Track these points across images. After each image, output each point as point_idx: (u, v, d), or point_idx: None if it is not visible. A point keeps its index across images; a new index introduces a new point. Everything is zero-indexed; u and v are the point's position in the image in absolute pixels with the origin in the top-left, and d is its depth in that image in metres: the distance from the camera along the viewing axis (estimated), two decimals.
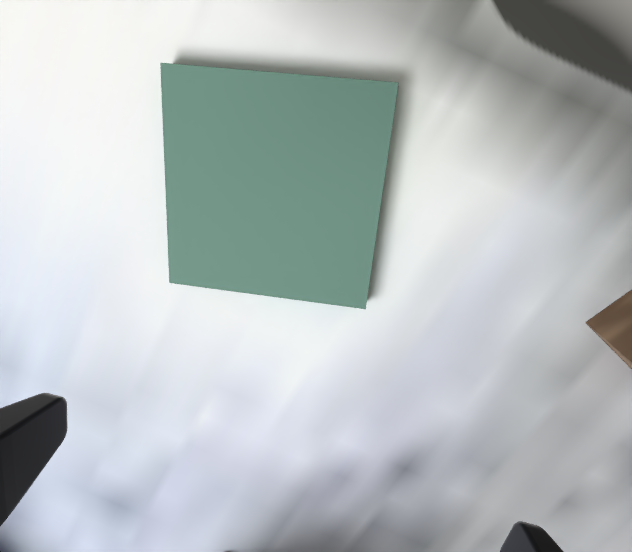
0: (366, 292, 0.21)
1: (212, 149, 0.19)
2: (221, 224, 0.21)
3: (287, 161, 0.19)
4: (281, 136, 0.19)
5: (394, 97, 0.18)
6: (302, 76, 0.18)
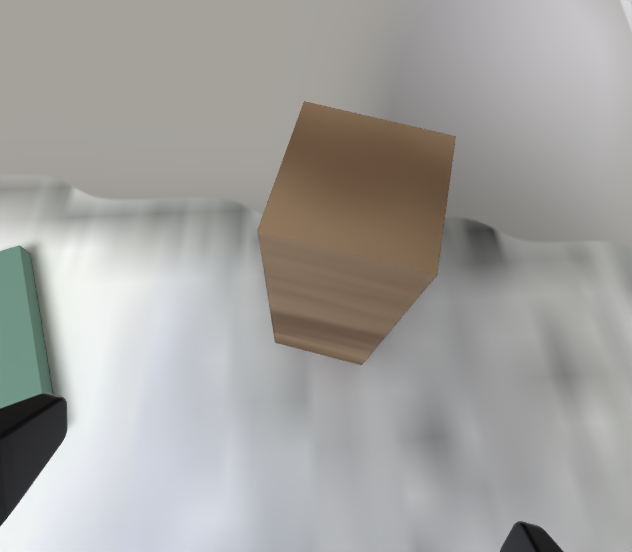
0: None
1: None
2: None
3: None
4: None
5: (18, 254, 0.22)
6: None
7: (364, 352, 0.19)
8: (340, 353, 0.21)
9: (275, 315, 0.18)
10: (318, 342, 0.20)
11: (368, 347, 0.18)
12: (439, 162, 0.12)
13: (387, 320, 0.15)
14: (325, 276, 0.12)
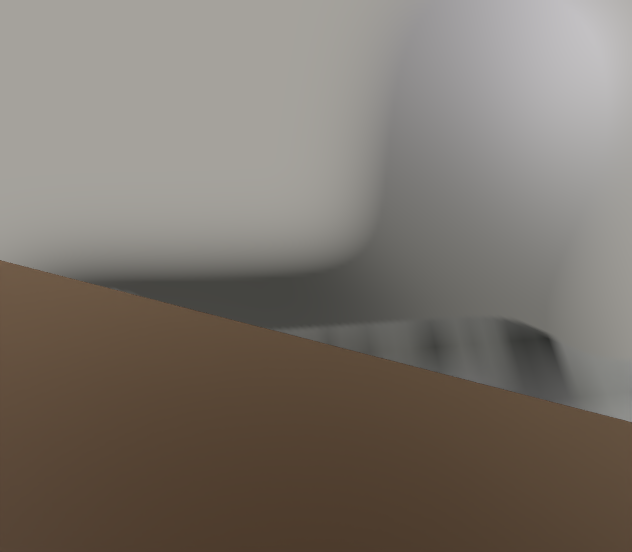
0: None
1: None
2: None
3: None
4: None
5: None
6: None
7: None
8: None
9: None
10: None
11: None
12: None
13: None
14: None
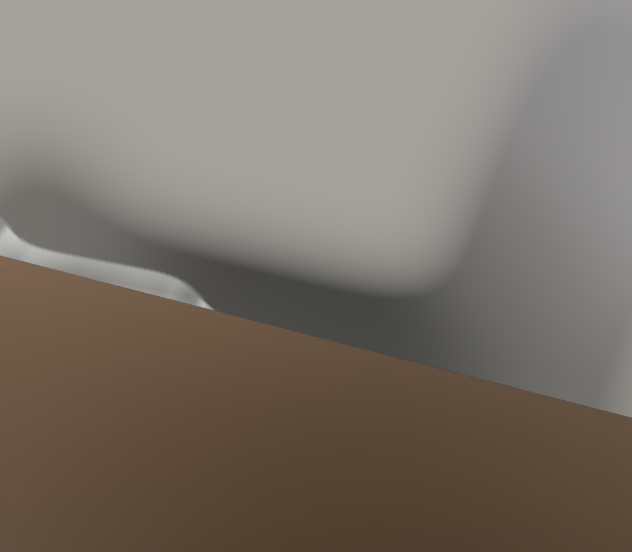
0: None
1: None
2: None
3: None
4: None
5: None
6: None
7: None
8: None
9: None
10: None
11: None
12: None
13: None
14: None
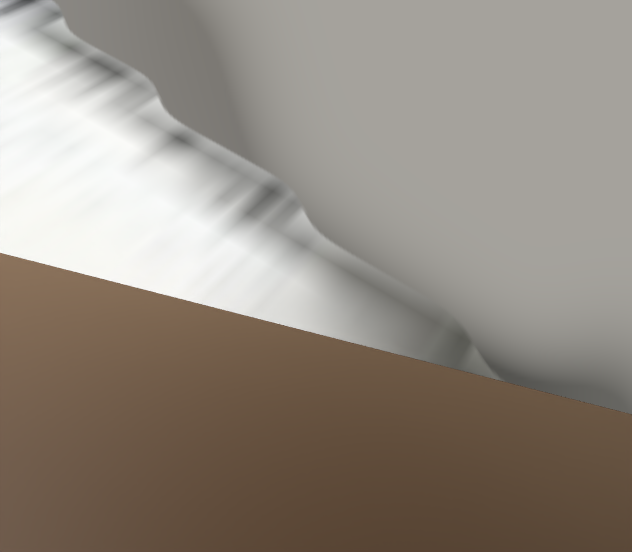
0: None
1: None
2: None
3: None
4: None
5: None
6: None
7: None
8: None
9: None
10: None
11: None
12: None
13: None
14: None
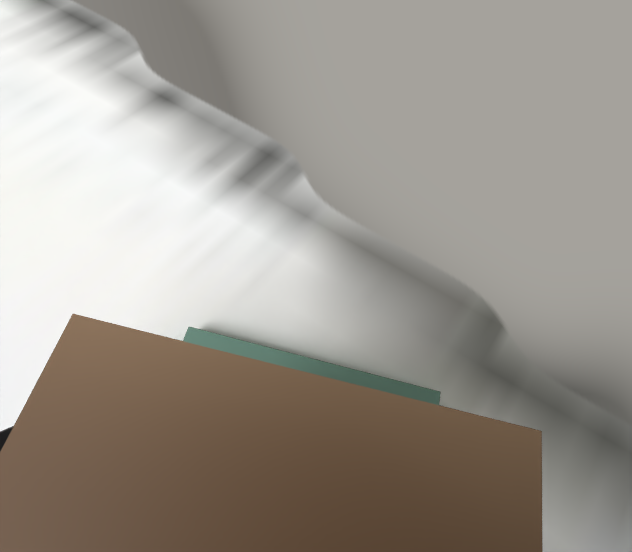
0: None
1: None
2: None
3: None
4: None
5: None
6: (340, 367, 0.17)
7: None
8: None
9: None
10: None
11: None
12: None
13: None
14: None
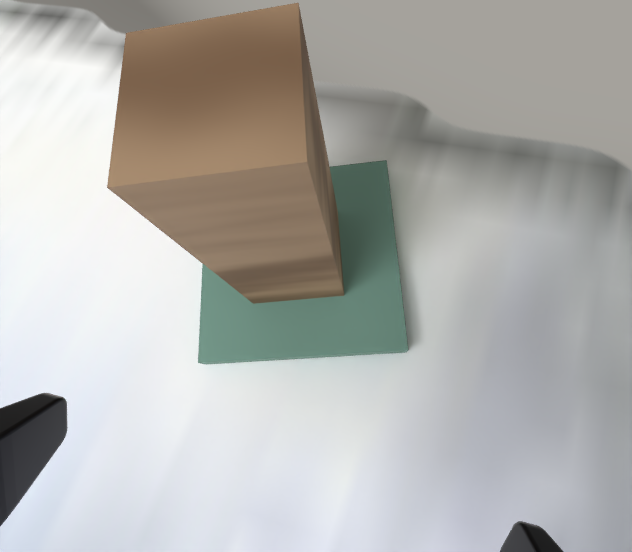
0: (404, 331, 0.20)
1: None
2: None
3: None
4: None
5: (385, 169, 0.23)
6: None
7: (333, 281, 0.18)
8: (315, 291, 0.20)
9: (223, 275, 0.17)
10: (286, 288, 0.19)
11: (331, 274, 0.17)
12: (285, 39, 0.10)
13: (317, 237, 0.13)
14: (216, 211, 0.11)
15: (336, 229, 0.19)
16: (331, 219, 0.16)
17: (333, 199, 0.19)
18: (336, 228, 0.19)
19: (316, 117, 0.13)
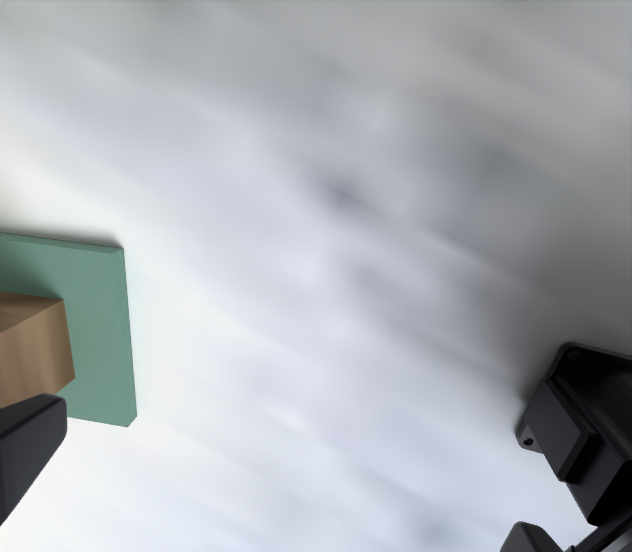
0: (94, 252, 0.20)
1: None
2: None
3: None
4: None
5: None
6: None
7: (22, 328, 0.19)
8: (48, 333, 0.21)
9: None
10: (36, 365, 0.20)
11: (2, 338, 0.18)
12: None
13: None
14: None
15: None
16: None
17: None
18: None
19: None
